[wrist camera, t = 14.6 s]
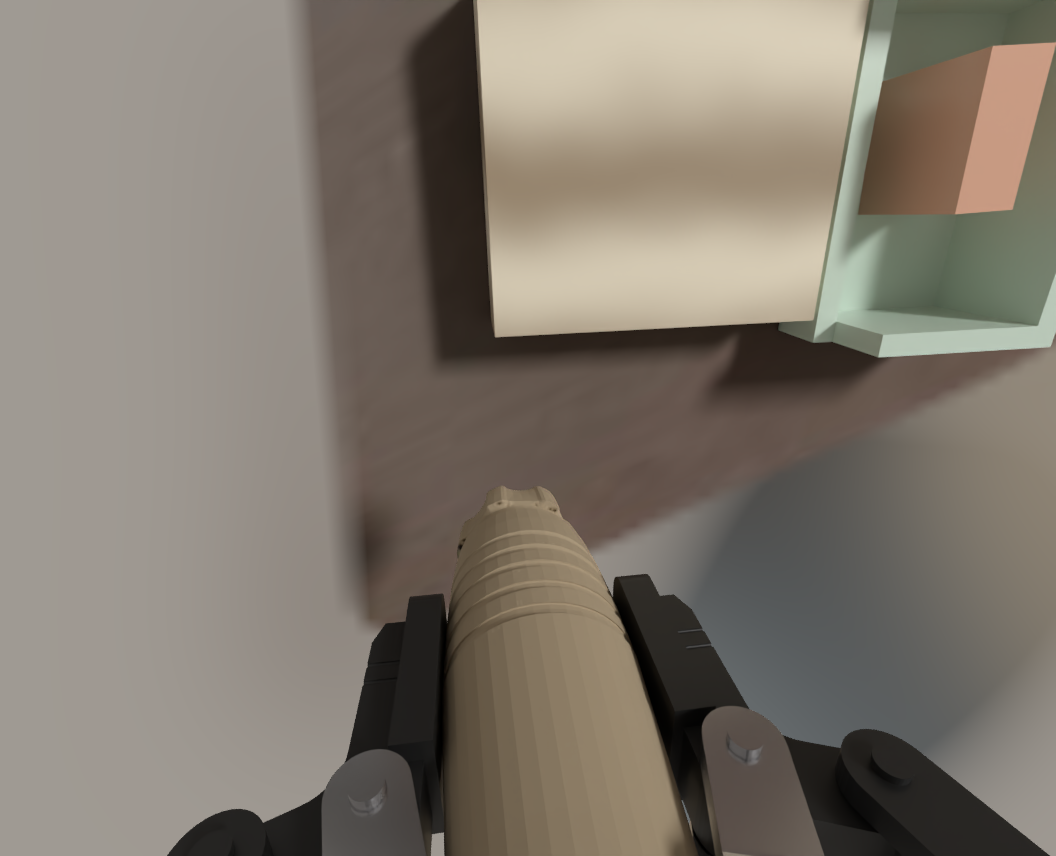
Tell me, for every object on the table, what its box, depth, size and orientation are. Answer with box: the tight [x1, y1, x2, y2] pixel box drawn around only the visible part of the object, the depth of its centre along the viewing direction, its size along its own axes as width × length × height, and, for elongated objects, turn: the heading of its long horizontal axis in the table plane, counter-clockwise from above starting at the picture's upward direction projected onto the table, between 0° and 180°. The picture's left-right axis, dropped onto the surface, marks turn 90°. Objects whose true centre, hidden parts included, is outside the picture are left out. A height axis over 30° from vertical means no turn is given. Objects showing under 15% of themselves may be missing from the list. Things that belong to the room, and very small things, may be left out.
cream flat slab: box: [473, 0, 870, 337], centre depth 18 cm, size 11×12×3 cm
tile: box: [858, 42, 1056, 215], centre depth 18 cm, size 4×4×2 cm
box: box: [778, 0, 1056, 357], centre depth 19 cm, size 12×8×5 cm, turn 2°
